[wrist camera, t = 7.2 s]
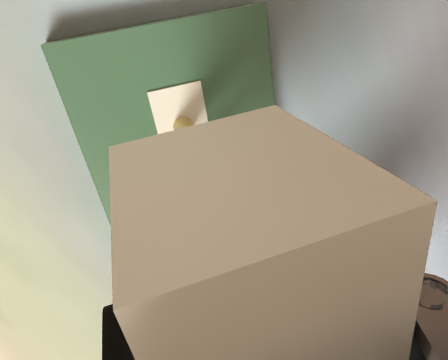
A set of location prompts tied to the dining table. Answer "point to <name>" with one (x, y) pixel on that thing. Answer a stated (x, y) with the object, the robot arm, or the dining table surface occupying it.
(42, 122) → the dining table surface
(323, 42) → the dining table surface
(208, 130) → the plug housing
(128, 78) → the board
